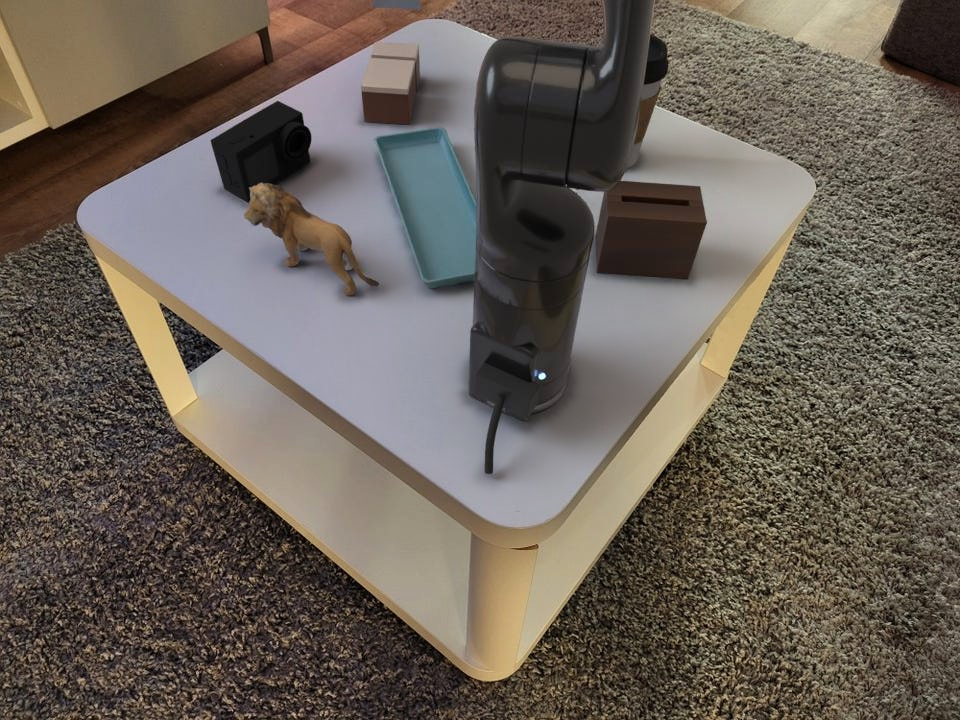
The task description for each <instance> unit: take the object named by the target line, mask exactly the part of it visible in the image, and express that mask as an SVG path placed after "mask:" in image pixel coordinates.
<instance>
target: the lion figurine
mask: <svg viewBox="0 0 960 720" xmlns="http://www.w3.org/2000/svg"><path fill="white" fill-rule="evenodd" d="M249 189H250V198H251V200H250V202H248V203H249V208H247V209H246V211H245V212H244V213H243V217H244V218H243V219H245V220H247V221H248V222H249V223H250V224H251V225H252V226H253V227H258V225H260V224H261V225H262V227H263V228H265V229H266V228H267V229H269V230H270V231H271V232H272V233H273V235H274V237H278V238H280V239H282V242H283V245H284V247H285V250H286V251H287V253H288V255H289V256H290V257H287V258H286V260H285V264H286V266H287V267H290V268H291V267H295V266H297V265H298V264H299V263H300V256H299V255H300V254H299V253H298V251H300V252H304V251H307V250H308V249H311V250H314V251H323V254H324V257H325V260H326V261H327V263H328V265H329V266H330V268H331V270H332V271H333V272H334V273H335V274H336V275H337V276H338V278H340V279H341V280H342V281H343V282H344V283H345V284H346V285H345V286H344V287H343V292H344V294H345V295H346V296H353V295H355V293H356V292H357V286H356V283H355V281H354V279H353V277H352V276H351V275H350V274H349V272H347V271H351V270H353V269H354V271H355V272H356V274H357V275H358V277H359V278H360V279H361V280H362V281H363V282H365V283H366V284H368V285H369V286H370V287H378V286H379V285H380V282H379V281H378V280H375V279H372V278H370V277H368V276H366V275H365V274H364V273H363V271H362V270H361V268H360V266H359V263H358V262H357V258H356V256H355V254H354V251H353V248H352V244H353V241H352V238H351V236H350V235H349V233H348V232H347V231H346V230H345V229H344V228H343V226H341V225H339V224H336V223H333V222H329V221H326V220H324V219H323V218H320V217H319V216H317V215H315V214H313V213H311V212H309V211H308V210H306V209H305V207H304V206H303V204H302V202H301V201H300V199H299V198H297V197H296V196H295V195H294V194H293V193H291V192H289V191H288V190H286V189H284V188H282V187H281V186H278V184H276V185H273V184H269V183H265V184H263V183H260V184H258V185H257V186H253V187H250V188H249ZM343 258H344V259H345V261H343V260H344V259H343Z"/></svg>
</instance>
